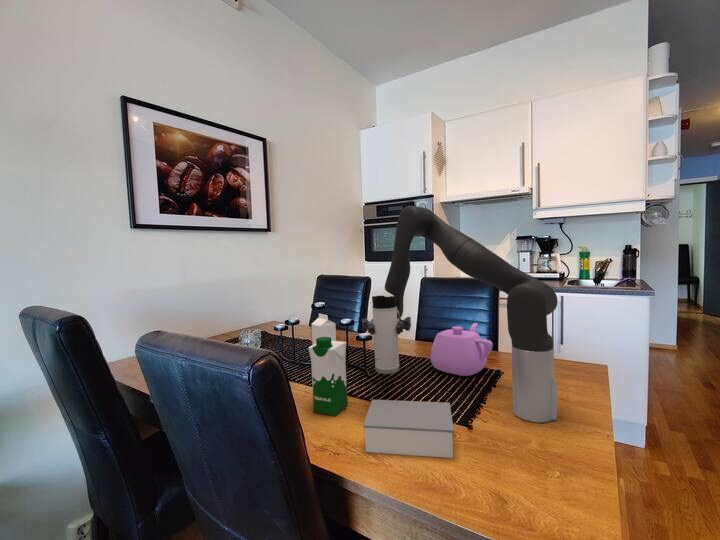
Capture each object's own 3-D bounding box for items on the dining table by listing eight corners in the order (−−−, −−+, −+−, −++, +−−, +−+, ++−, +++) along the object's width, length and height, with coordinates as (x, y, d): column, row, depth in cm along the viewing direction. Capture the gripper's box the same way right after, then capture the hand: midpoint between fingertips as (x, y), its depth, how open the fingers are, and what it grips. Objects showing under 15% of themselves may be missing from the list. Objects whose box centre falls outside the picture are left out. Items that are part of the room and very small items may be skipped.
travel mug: (371, 373, 88) (367, 295, 87) (379, 364, 94) (376, 292, 93) (395, 375, 86) (391, 296, 84) (402, 366, 92) (398, 292, 90)
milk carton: (308, 413, 92) (304, 339, 91) (325, 399, 100) (322, 331, 99) (337, 418, 88) (333, 342, 87) (352, 403, 97) (349, 333, 96)
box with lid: (450, 427, 82) (449, 402, 82) (454, 459, 70) (453, 430, 69) (373, 423, 85) (372, 399, 85) (364, 452, 73) (362, 425, 73)
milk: (323, 382, 113) (319, 316, 112) (314, 377, 118) (310, 314, 117) (338, 378, 117) (335, 314, 116) (329, 373, 122) (325, 311, 120)
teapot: (481, 385, 105) (479, 337, 105) (424, 370, 121) (422, 328, 120) (511, 366, 121) (510, 323, 120) (457, 354, 136) (456, 317, 136)
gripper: (362, 305, 104) (356, 316, 87) (410, 304, 102) (413, 315, 86) (363, 330, 104) (357, 346, 88) (411, 329, 103) (414, 344, 86)
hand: (385, 330), depth 87 cm, fingers closed on travel mug, 6 cm apart
